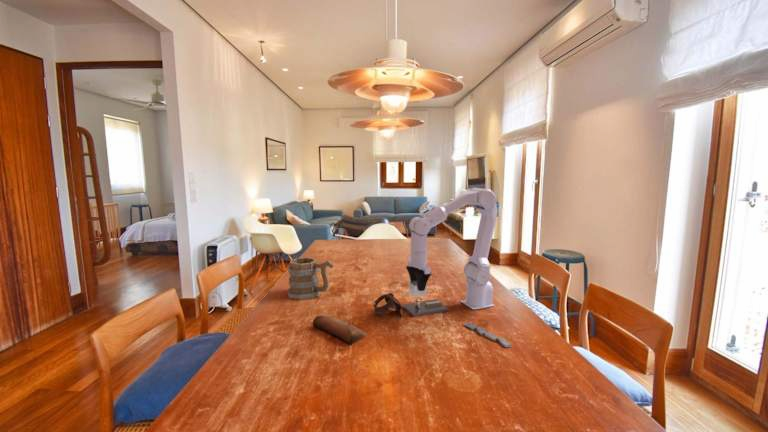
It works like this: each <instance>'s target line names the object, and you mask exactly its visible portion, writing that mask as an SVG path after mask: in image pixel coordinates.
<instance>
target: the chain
mask: <svg viewBox="0 0 768 432" xmlns="http://www.w3.org/2000/svg"><path fill="white" fill-rule="evenodd" d="M464 326H465V327H467V328H469V329H471V330H472V331H475V332H477V333H478V334H479V335H480V336H483V337H485V338H487V339H489V340H490V341H493V342H498V344H500V345H501V346H503V347H504V348H511V347H512V343H511V342H510V341H508V340H507V339H505V338H504V337H500V336H497V335H495V334H494V333H492V332H490V331H486V329H484V328H483V327H482V326H478V325H476V324H474V323H473V322H471V321H468V322H465V323H464Z"/></svg>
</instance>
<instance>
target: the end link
mask: <svg viewBox="0 0 768 432" xmlns="http://www.w3.org/2000/svg"><path fill="white" fill-rule="evenodd" d="M408 293H409V294H410V295H411V296H412V297H421V296H422V297H423V296H427V295H428V284H426V287H425V290H424V291H419V290H418V282H417V281H411V280H410V281H408Z"/></svg>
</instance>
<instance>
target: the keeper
mask: <svg viewBox="0 0 768 432" xmlns="http://www.w3.org/2000/svg"><path fill="white" fill-rule="evenodd" d="M401 307H402V309H403V310H405V311H406V312H407V313H408V314H409V315H410V316H411V317H420V316H426V315H431V314H438V313H444V312H449V307H447V306H445V305H444V304H443V302H442V301H441V300H437V299H430V300H424V301H422V300H420V298H415V302H409V303H402V305H401Z"/></svg>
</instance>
